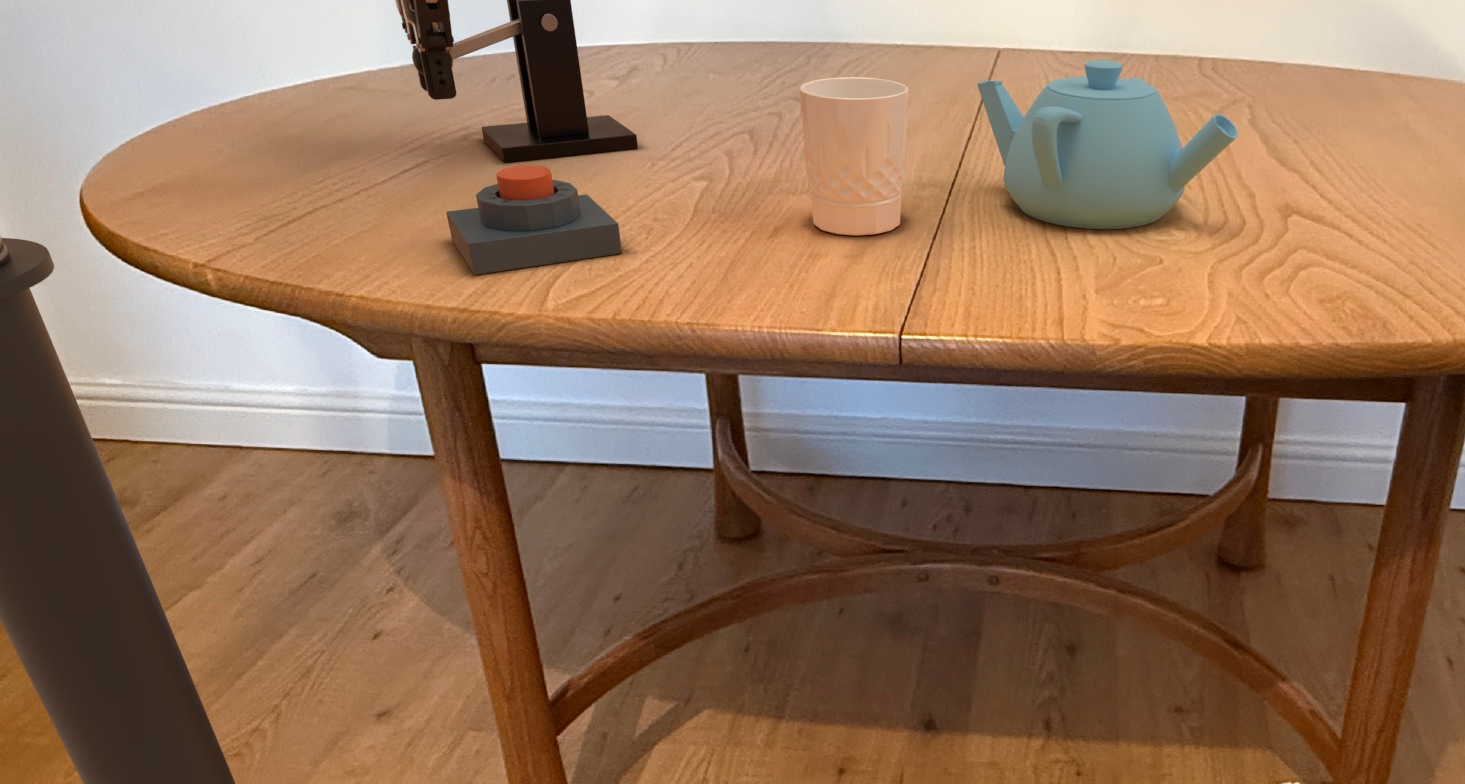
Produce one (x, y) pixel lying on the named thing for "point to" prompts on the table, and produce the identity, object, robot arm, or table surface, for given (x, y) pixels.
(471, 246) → the button block
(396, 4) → the robot arm
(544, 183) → the button
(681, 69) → the table surface
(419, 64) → the tap lever
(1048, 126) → the teapot
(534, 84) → the bracket
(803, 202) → the table surface
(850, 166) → the peach cup
